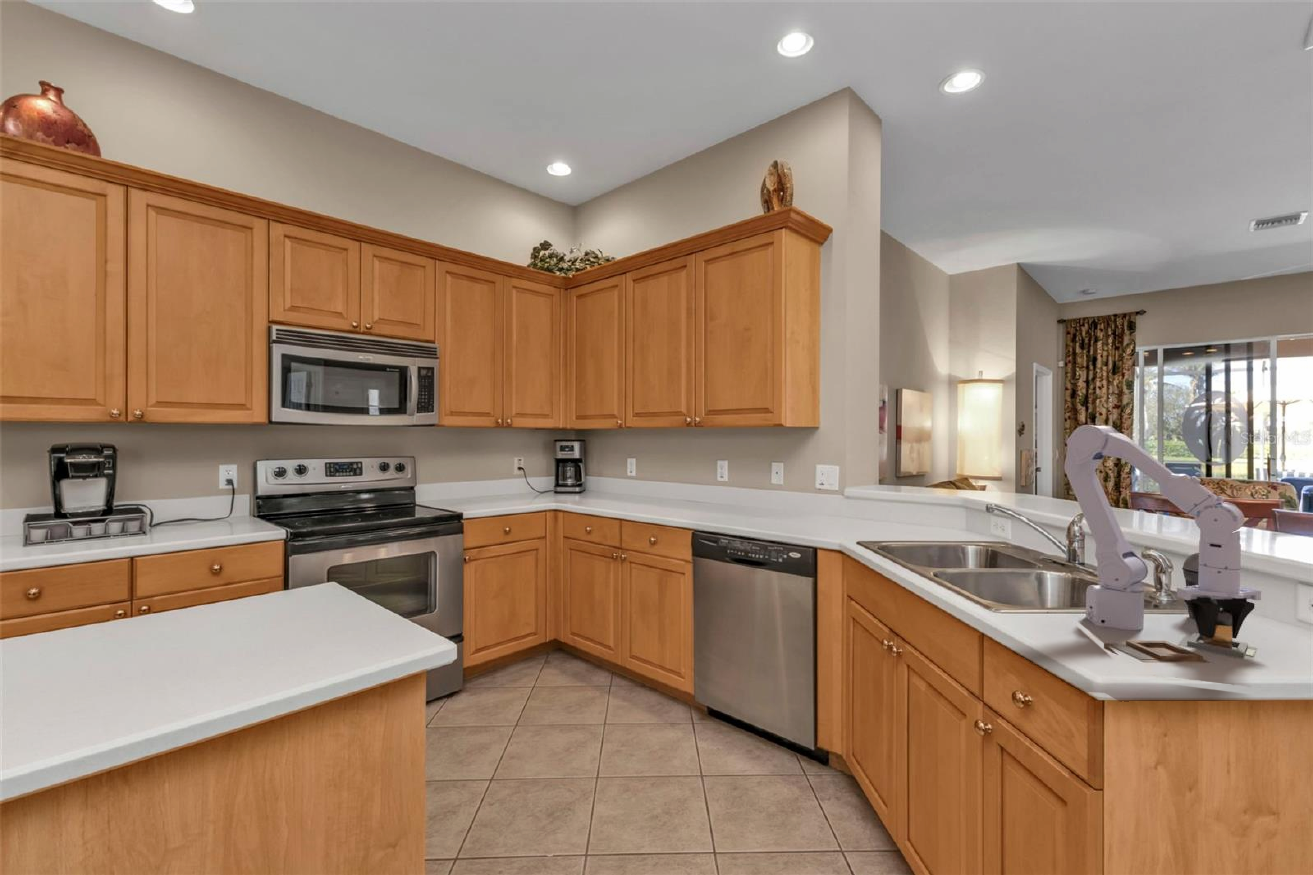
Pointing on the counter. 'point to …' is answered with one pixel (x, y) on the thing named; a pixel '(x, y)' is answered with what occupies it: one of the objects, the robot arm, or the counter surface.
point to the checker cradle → (1237, 650)
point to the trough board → (1155, 651)
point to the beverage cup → (1192, 574)
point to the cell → (1222, 630)
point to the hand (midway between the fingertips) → (1217, 636)
